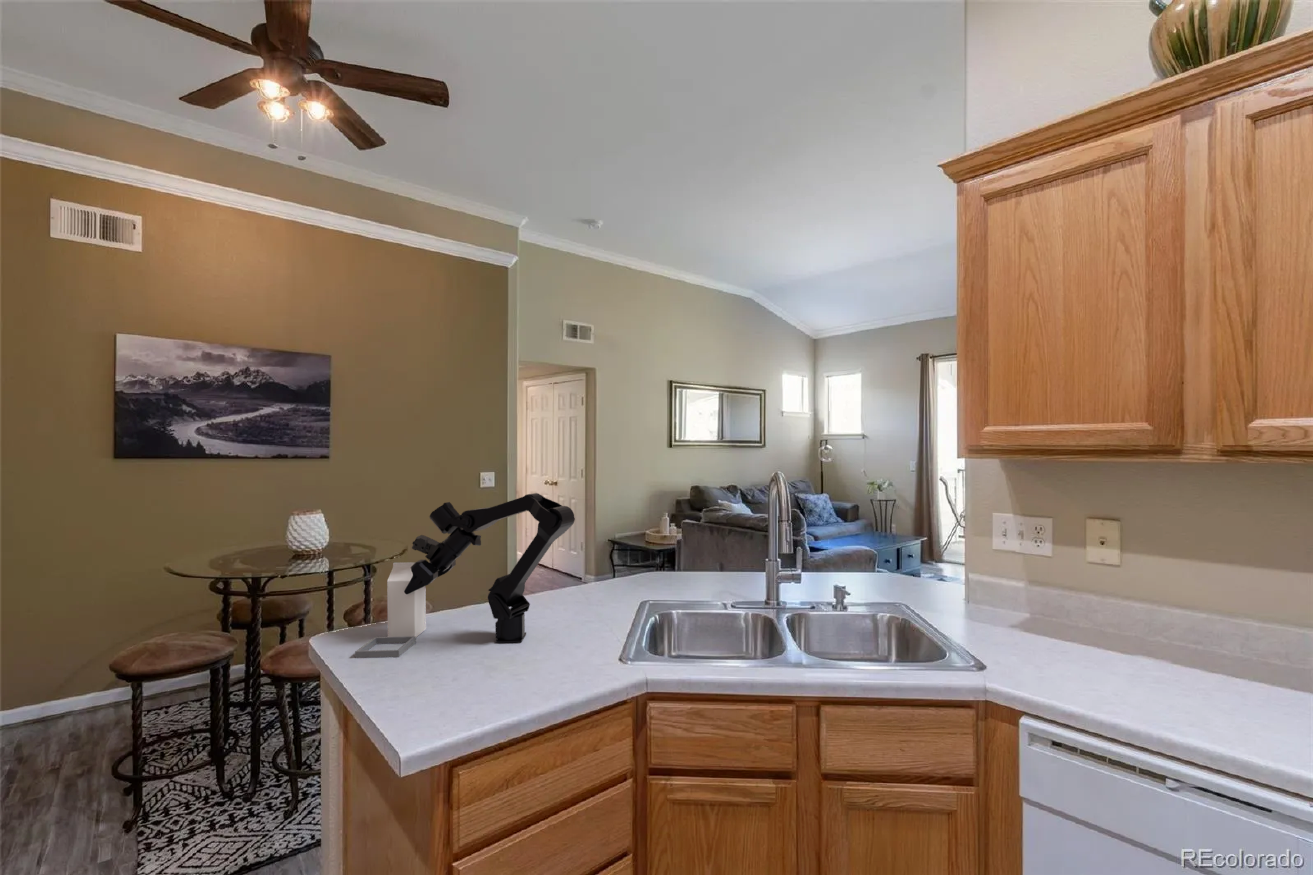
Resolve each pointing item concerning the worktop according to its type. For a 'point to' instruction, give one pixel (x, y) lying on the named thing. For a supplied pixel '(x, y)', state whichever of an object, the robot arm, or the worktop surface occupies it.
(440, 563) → the robot arm
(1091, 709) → the worktop surface
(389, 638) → the drip tray
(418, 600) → the milk carton
